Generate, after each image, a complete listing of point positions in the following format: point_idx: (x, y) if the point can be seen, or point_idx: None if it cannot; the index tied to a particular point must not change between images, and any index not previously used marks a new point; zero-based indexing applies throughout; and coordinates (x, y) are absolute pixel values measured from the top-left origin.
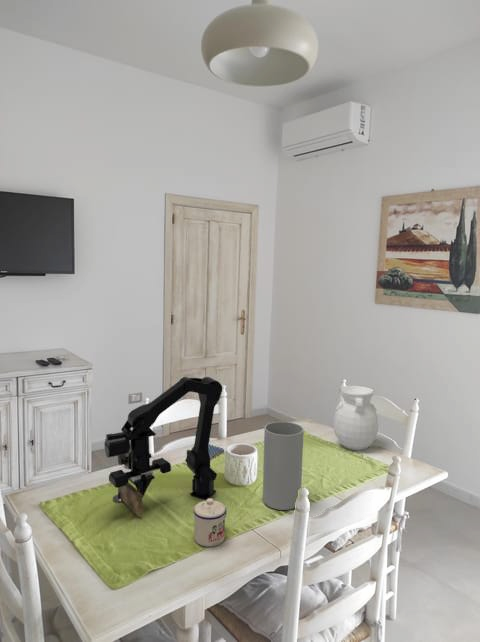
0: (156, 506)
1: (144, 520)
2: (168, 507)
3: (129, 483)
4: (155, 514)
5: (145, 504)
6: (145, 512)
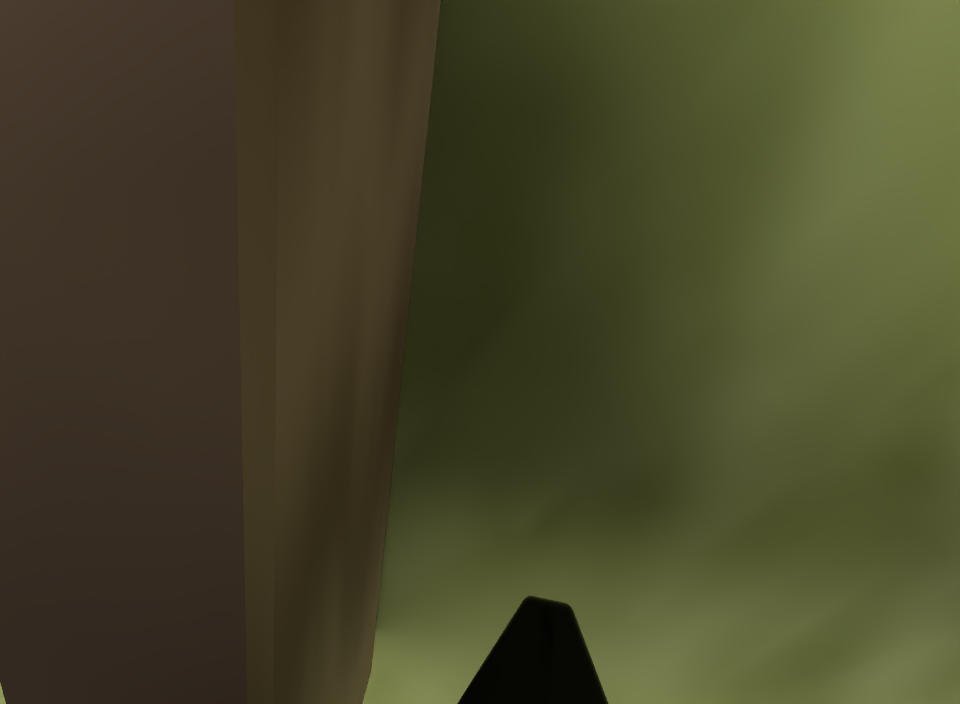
0: (815, 557)
1: (374, 683)
2: (922, 697)
3: (229, 595)
4: (605, 688)
5: (728, 369)
6: (523, 562)
